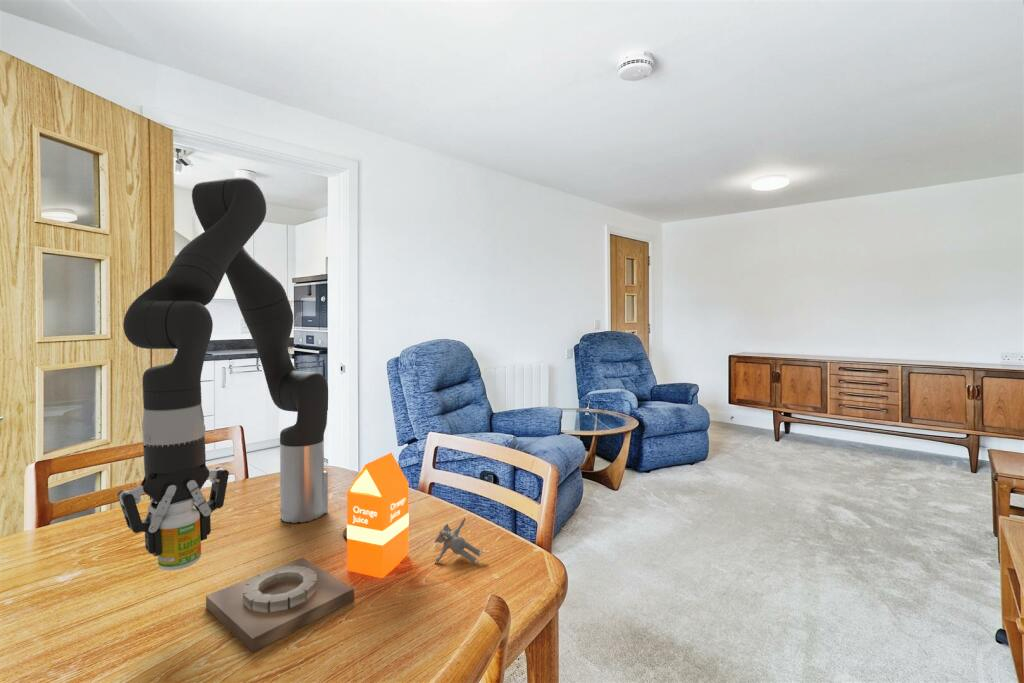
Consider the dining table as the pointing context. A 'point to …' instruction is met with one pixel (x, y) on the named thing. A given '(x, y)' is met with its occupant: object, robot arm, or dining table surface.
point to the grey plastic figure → (456, 543)
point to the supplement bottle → (180, 536)
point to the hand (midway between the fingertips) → (179, 545)
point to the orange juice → (377, 518)
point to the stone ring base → (278, 602)
